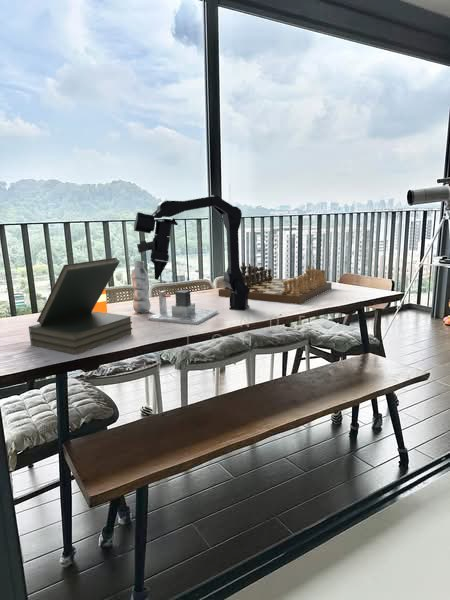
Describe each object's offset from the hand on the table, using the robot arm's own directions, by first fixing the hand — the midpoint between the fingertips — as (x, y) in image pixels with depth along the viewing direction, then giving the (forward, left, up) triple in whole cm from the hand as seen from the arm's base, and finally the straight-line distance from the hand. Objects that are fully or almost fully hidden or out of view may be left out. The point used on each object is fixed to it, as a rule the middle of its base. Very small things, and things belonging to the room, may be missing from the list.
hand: (156, 278), depth 154 cm
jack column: (-9, -3, -13) cm, 16 cm away
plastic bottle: (+10, -4, -15) cm, 18 cm away
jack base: (-9, -3, -15) cm, 17 cm away
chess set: (-29, -59, -15) cm, 68 cm away
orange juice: (+25, +7, -15) cm, 30 cm away
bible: (+7, +33, -15) cm, 37 cm away
